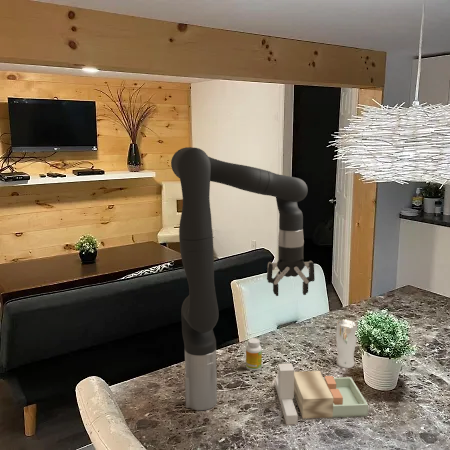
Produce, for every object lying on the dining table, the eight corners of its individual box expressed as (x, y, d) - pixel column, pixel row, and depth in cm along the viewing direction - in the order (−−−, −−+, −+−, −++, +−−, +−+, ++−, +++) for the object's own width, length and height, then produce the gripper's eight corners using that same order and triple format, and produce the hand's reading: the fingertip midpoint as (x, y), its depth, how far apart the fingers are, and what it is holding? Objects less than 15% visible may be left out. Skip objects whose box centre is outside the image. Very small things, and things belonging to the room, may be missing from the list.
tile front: (334, 397, 129) (342, 397, 129) (329, 389, 133) (338, 388, 134) (333, 412, 130) (342, 411, 130) (329, 403, 134) (337, 402, 134)
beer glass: (357, 361, 160) (359, 321, 157) (353, 370, 154) (355, 328, 151) (337, 357, 163) (338, 318, 160) (333, 366, 157) (334, 325, 154)
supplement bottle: (260, 371, 154) (260, 344, 152) (244, 369, 155) (244, 343, 153) (262, 363, 159) (262, 337, 157) (247, 362, 160) (247, 336, 158)
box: (332, 417, 128) (333, 406, 128) (319, 388, 143) (319, 378, 142) (367, 416, 129) (368, 404, 128) (350, 387, 143) (351, 377, 143)
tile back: (327, 383, 136) (336, 383, 136) (324, 376, 141) (332, 376, 141) (327, 397, 137) (335, 397, 137) (324, 389, 142) (332, 389, 142)
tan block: (302, 418, 128) (303, 399, 127) (292, 389, 143) (292, 371, 141) (332, 417, 128) (333, 398, 127) (319, 388, 143) (319, 370, 142)
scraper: (284, 425, 125) (285, 385, 123) (273, 386, 145) (274, 351, 143) (299, 425, 125) (300, 385, 123) (286, 385, 145) (286, 350, 143)
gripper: (311, 240, 141) (310, 289, 144) (265, 241, 140) (265, 291, 143) (317, 245, 133) (316, 298, 136) (268, 247, 133) (268, 299, 136)
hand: (290, 294), depth 140 cm, fingers open, 8 cm apart
